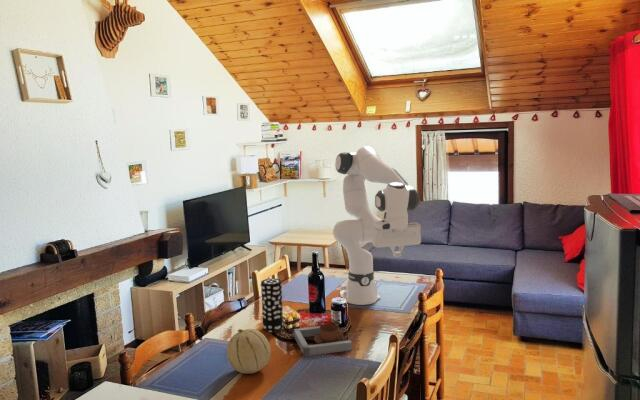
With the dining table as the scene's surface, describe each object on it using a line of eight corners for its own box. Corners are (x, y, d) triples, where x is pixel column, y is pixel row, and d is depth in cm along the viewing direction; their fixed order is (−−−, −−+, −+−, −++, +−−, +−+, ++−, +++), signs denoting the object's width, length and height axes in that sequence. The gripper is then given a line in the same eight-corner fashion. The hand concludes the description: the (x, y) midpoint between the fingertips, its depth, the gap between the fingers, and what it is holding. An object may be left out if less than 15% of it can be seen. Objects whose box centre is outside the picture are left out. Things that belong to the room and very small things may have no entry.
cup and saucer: (348, 338, 206) (348, 322, 205) (340, 350, 195) (340, 334, 194) (319, 335, 210) (318, 320, 209) (310, 347, 198) (309, 331, 197)
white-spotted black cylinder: (280, 332, 213) (278, 284, 210) (260, 331, 214) (258, 284, 212) (285, 325, 221) (283, 278, 218) (266, 324, 222) (264, 278, 220)
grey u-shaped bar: (293, 336, 209) (293, 329, 208) (337, 331, 213) (337, 324, 212) (304, 356, 190) (304, 348, 190) (351, 350, 195) (351, 342, 194)
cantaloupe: (273, 378, 174) (272, 335, 172) (228, 384, 171) (226, 340, 169) (268, 359, 188) (266, 319, 186) (226, 364, 185) (224, 323, 183)
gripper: (417, 220, 218) (417, 252, 220) (370, 223, 213) (370, 256, 215) (424, 222, 212) (423, 256, 214) (376, 226, 207) (376, 260, 209)
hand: (396, 256), depth 214 cm, fingers closed
